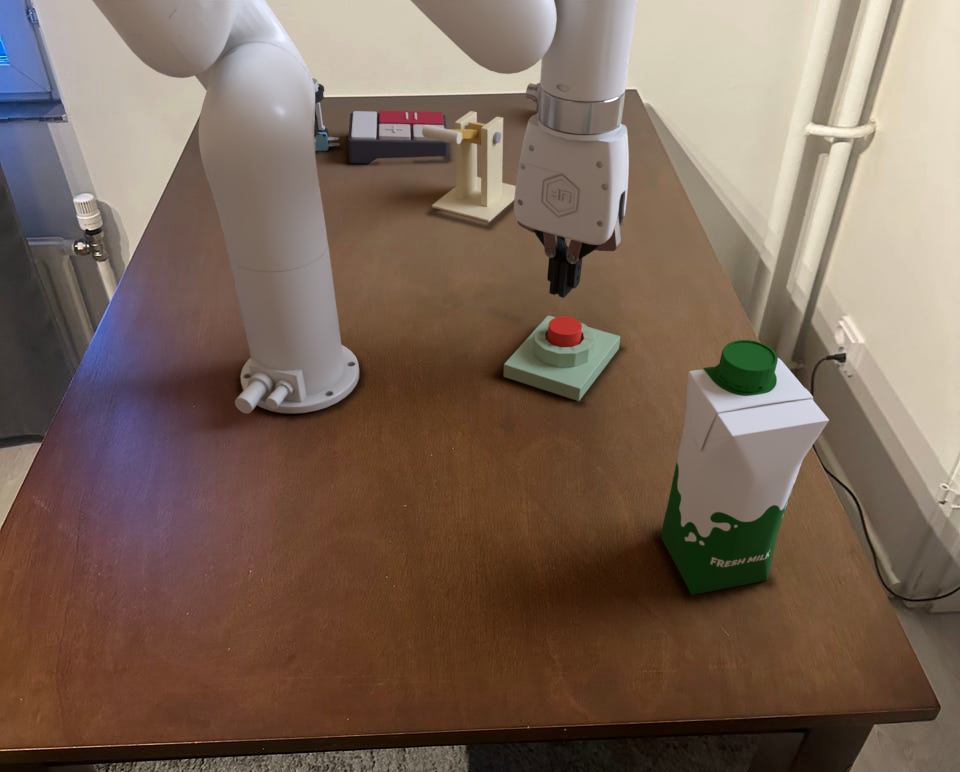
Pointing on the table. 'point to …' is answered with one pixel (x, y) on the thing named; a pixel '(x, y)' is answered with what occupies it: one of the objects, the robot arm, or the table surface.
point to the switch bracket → (471, 191)
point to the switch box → (562, 361)
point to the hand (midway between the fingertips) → (562, 289)
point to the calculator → (393, 135)
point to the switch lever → (455, 133)
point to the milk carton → (737, 466)
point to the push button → (319, 129)
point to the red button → (564, 331)
